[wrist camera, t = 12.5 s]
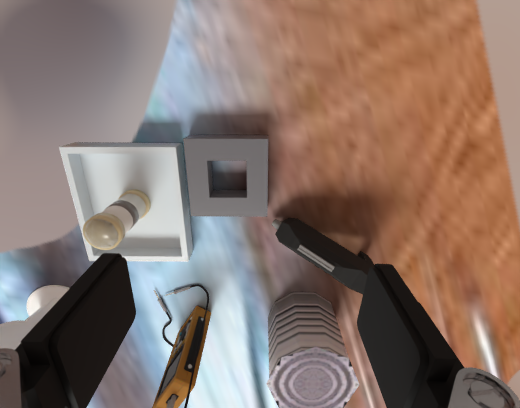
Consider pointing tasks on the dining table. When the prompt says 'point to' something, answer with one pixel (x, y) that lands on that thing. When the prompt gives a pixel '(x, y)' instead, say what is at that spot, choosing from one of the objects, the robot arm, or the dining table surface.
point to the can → (308, 354)
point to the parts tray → (126, 178)
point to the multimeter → (183, 357)
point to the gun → (325, 253)
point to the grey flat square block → (227, 149)
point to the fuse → (116, 220)
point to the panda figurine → (31, 315)
